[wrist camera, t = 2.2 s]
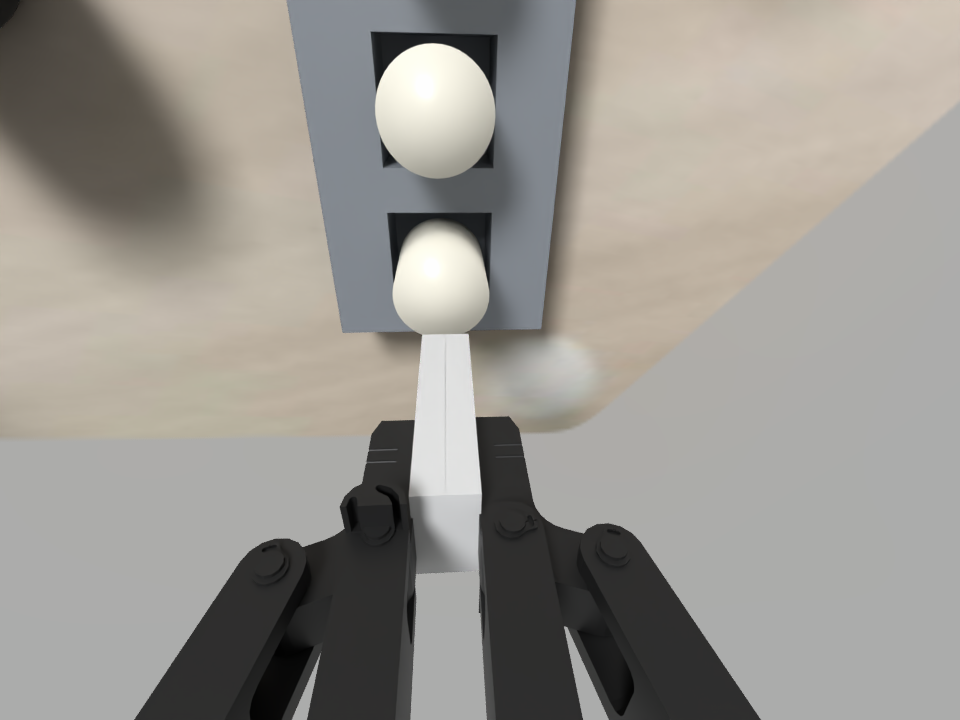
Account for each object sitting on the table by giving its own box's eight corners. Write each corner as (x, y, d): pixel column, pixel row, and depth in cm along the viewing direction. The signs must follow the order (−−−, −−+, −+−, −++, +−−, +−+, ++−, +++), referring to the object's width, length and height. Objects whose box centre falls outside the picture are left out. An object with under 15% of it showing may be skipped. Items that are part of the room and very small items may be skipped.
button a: (403, 296, 25) (396, 339, 21) (397, 218, 22) (388, 250, 19) (480, 295, 25) (488, 337, 21) (482, 218, 23) (490, 249, 19)
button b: (392, 156, 21) (381, 178, 17) (383, 44, 19) (368, 41, 15) (484, 157, 21) (493, 178, 17) (486, 46, 19) (497, 44, 15)
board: (354, 300, 29) (342, 332, 25) (272, -260, 16) (229, -340, 13) (529, 297, 29) (541, 329, 26) (576, -240, 17) (609, -311, 14)
